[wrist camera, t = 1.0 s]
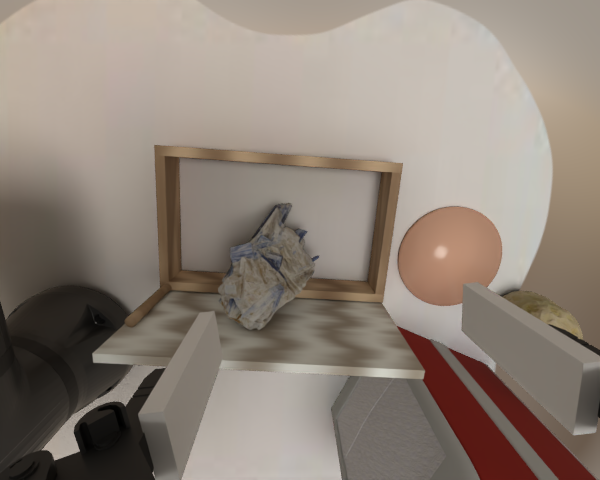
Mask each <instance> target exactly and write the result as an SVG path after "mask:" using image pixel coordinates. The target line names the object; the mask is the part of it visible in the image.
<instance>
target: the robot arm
mask: <svg viewBox="0 0 600 480" xmlns="http://www.w3.org/2000/svg"><path fill="white" fill-rule="evenodd" d="M127 317H128V316H127V315H126V313H125V312H124V311H123V310H122V309H121V308H120V307H119V306H118V305H117V304H116V303H115V302H113V301H112V300H111V299H109V298H108V297H106V296H104V295H103V294H101V293H99V292H96V291H94V290H91V289H87V288H83V287H78V286H60V287H54V288H51V289H48V290H45V291H43V292H41V293H39V294H37V295H35V296H33V297H31V298H29V299H27V300H26V301H24V302H23V303H21V304H20V305H19V306H18V307H17V308H15V309H14V311H13V312H12V313H11V314H10V315H9V317H8V318H7V320H5V317H4V313H3V309H2V306H1V302H0V480H155V479H156V480H181V478H182V476H183V473H184V470H185V467H186V464H187V461H188V458H189V455H190V452H191V449H192V446H193V443H194V440H195V438H196V435H197V432H198V429H199V426H200V423H201V420H202V417H203V414H204V411H205V408H206V405H207V402H208V400H209V397H210V394H211V391H212V388H213V385H214V382H215V379H216V376H217V373H218V370H219V367H220V364H221V361H222V359H223V355H222V349H221V344H220V339H219V333H218V328H217V322H216V317H215V311H210V312H201V313H199V315H198V316H197V318H196V320H195V321H194V323H193V325H192V326H191V328H190V329H189V331H188V333H187V334H186V336H185V338H184V339H183V341H182V343H181V344H180V346H179V348H178V349H177V351H176V353H175V354H174V356H173V357H172V359H171V361H170V362H169V364H168V366H167V367H166V368H162V369H155V370H154V371H153V372H152V373H150V374H149V375H148V376H147V377H146V378H145V379H144V380H143V381H142V383H141V384H140V386H139V387H138V390H136V392H135V393H134V395H133V398H131V399H130V401H129V402H128V404H127V405H126V407H125V405H124V404H123V403H121V402H110V403H105V404H103V405H100V406H98V407H96V408H94V409H92V410H91V411H89V412H88V413H86V414H85V415H84V416H83V417H82V418H81V419H80V420H79V421H78V423H77V424H76V425H75V428H74V435H75V438H76V441H77V443H78V446H79V449H80V452H78V453H75V454H72V455H69V456H66V457H64V458H61V459H58V460H55V461H54V459H53V456H52V453H50V452H49V451H47V450H42V449H43V448H44V446H45V445H46V444H47V443H48V442H49V441H50V439H51V438H52V437H53V436H54V435H55V434H56V433H57V431H58V430H59V429H60V428H61V427H62V426H63V425H64V423H65V422H66V421H67V420H68V419H69V418H70V417H71V416H72V415H73V414H75V413H76V412H78V411H79V410H81V409H83V408H84V407H86V406H87V405H89V404H90V403H92V402H93V401H95V400H96V399H97V398H100V397H102V396H104V395H105V394H107V393H108V392H110V391H111V390H113V389H114V388H115V387H116V386H117V385H118V384H119V383H120V382H121V381H122V379H123V378H124V377H125V376H126V375H127V373H128V372H129V371H130V369H131V368H132V366H133V365H130V364H110V363H93V355H92V353H94V352H95V351H96V350H97V349H98V348H99V347H100V346H101V345H102V344H103V343H104V342H106V341H107V340H108V339H109V338H110V337H111V336H112V335H113V334H114V333H115V332H116V331H118V330H119V329H120V328H121V327H122V326H123V325H124V324H125V319H126V318H127ZM462 331H463V332H464V333H465V334H466V335H467V336H468V337H469V338H470V339H471V340H472V341H473V342H474V343H475V344H477V345H478V346H479V347H480V348H481V349H482V350H483V351H484V352H485V353H486V354H487V355H488V356H489V357H490V358H491V359H493V360H494V361H495V362H496V363H497V364H498V365H499V366H500V367H501V368H502V369H503V370H504V371H506V373H508V374H509V375H510V376H511V377H512V378H513V379H514V380H515V381H516V382H517V383H518V384H519V385H520V386H521V387H523V388H524V389H525V390H526V391H527V392H528V393H529V394H530V395H531V396H532V397H533V398H534V399H535V400H536V401H537V402H539V403H540V404H541V405H542V406H543V407H544V408H545V409H546V410H547V411H548V412H549V413H550V414H551V415H552V416H554V417H555V418H556V419H557V420H558V421H559V422H560V423H561V424H562V425H563V426H564V427H565V428H566V429H567V430H568V431H569V432H570V433H572V434H573V435H579V434H588V433H595V432H596V428H597V422H598V417H599V418H600V350H599V349H597V348H595V347H594V346H592V345H589V344H588V343H587V342H585V341H583V340H582V339H578V337H577V336H575V335H573V334H571V333H570V332H568V331H566V330H564V329H561V328H559V327H556V326H553V325H551V324H546V323H544V322H543V321H541V320H539V319H538V318H536V317H534V316H533V315H531V314H529V313H528V312H526V311H524V310H523V309H521V308H519V307H518V306H516V305H514V304H513V303H511V302H509V301H508V300H506V299H505V298H503V297H501V296H500V295H498V294H496V293H495V292H493V291H491V290H490V289H488V288H486V287H485V286H483V285H481V284H480V283H478V282H475V283H466V284H463V305H462ZM153 471H154V475H155V478H154V476H153V474H152V472H153Z"/></svg>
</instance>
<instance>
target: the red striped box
mask: <svg viewBox="0 0 600 480" xmlns="http://www.w3.org/2000/svg"><path fill="white" fill-rule="evenodd" d="M397 328H398V329H399V331H400V332H401V334H402V335H403V337H404V339H405V340H406V342H407V343H408V345H409V346H410V348H411V350H412V351H413V353H414V354H415V356H416V357H417V359H418V360H419V362H420V364H421V365H422V367H423V368H424V370H425V373H424V379H407V378H387V377H368V376H350V377H349V379H348V380H347V382H346V384H345V385H344V387H343V389H342V391H341V392H340V394H339V396H338V398H337V399H336V401H335V403H334V405H333V406H332V409H331V410H332V416H333V423H334V430H335V436H336V443H337V449H338V456H339V463H340V469H341V476H342V480H598V479H597V478H596V477H595V476H594V475H593V473H592V472H591V471H590V470H589V469H588V468H587V467H586V466H585V465H584V464H583V463H582V462H581V461H580V460H579V459H578V458H577V457H576V456H575V455H574V454H573V453H572V452H571V451H570V450H569V449H568V448H567V447H566V446H565V445H564V444H563V443H562V442H561V441H560V440H559V438H558V437H557V436H555V434H554V433H553V432H552V431H551V430H550V429H549V428H548V427H547V426H546V425H545V424H544V423H543V422H542V421H541V420H540V419H539V418H538V417H537V416H536V415H535V414H534V413H533V412H532V411H531V410H530V409H529V408H528V407H527V406H526V405H525V404H524V402H522V400H521V399H520V398H519V397H517V395H516V394H515V393H514V392H513V391H512V390H511V389H510V388H509V387H508V386H507V385H506V384H505V383H504V382H503V381H502V380H501V379H500V378H499V377H498V376H497V375H496V374H495V373H494V372H493V371H492V370H491V369H490V368H489V367H488V365H485V364H484V363H482V362H479V361H477V360H475V359H472V358H470V357H468V356H465V355H463V354H461V353H459V352H456V351H454V350H452V349H449V348H447V347H446V346H445V345H443V344H441V343H439V342H436V341H434V340H432V339H430V340H428V339H426V338H424V337H421V336H419V335H417V334H414V333H412V332H410V331H407V330H405V329H403V328H400V327H398V326H397Z"/></svg>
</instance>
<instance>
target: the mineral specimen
mask: <svg viewBox="0 0 600 480" xmlns="http://www.w3.org/2000/svg"><path fill="white" fill-rule="evenodd" d="M291 207H292V205H291V204H289V203H288V204H281V205H280V204H278V205H277V206H275V207H274V208H273V209H272V211H271V212H270V213H269V215H268V216H267V217H266V219H265V220H264V222H263V223H262V225H261V226H260V227H259V229H258V230H257V232H256V233H255V235H254V236H253V237H252V239H251V240H250V241H249V243H246V244H242V245H238V246H234V247H230V257H231V261H232V265H231V268H230V269H229V271H228V272H227V274H226V275H225V276H224V278H223V279H222V282H223V284H221V285H220V287H219V288H218V292H219V294H220V295H221V298H220V300H219V303H220V304H221V305H222V306H223V307H224V312H225V315H226V316H227V317H228V318H229V319H234V320H235V321H236V322H237V323H239V324H241V325H243V326H244V327H245V328H247V329H249V330H251V329H254V328H257V329H258V330H260V329H261V328H263V327H265V325H266V324H267V323H268V322H269V321H270V320H271V318H272V316H273V315H274V313H275V312H276V311H277V310H278V309H279V308H280V307H282V306H284V304H286V303H287V302H289V301H291V300H292V299H294V298H295V296H296V295H297V294H300V292H301V290H302V289H303V288H304V287H305V286H306V282H307V280H309V279H310V278H311V276H312V275H313V273H314V268H313V267H314V266H315V263H314V261H315V260H316V259H318V258H319V256H315V257H313V258H312V259H311V257H310V256H309V255H308V254H307V253H306V252H305V251H304V249H303V245H304V243H305V240H304V239H303V237H304V236H305V234H306V233H307V231H305V230H301V229H297V230H296V231H295V232H294V231H293V230H292V229H290V228H289V227H286V228H285V227H284V222H285V220H286V218H287V216H288V213H289V211H290V209H291Z"/></svg>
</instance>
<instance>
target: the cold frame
mask: <svg viewBox="0 0 600 480" xmlns="http://www.w3.org/2000/svg"><path fill="white" fill-rule="evenodd" d="M154 148H155V172H156V197H157V221H158V246H159V270H160V289H158V290H157V291H156V292H155V293H154V294H153V295H152V296H151V297H149V298H148V299H147V300H146V301H145V302H144V303H143V304H142V305H140V306H139V307H138V308H137V309H136V310H135V311H134V312H133V313H132V314H130V315H129V316H128V317H127V318H126V319H125V324H124V325H123V326H122V327H121V328H120V329H119V330H118V331H116V332H115V333H114V334H113V335H112V336H111V337H110V338H109V339H108V340H107V341H106V342H104V343H103V344H102V345H101V346H100V347H99V348H98V349H97V350H96V351H95V352H94V353H92V355H93V363H110V364H130V365H150V366H168V364H169V362H170V361H171V359H172V357H173V356H174V354H175V353H176V351H177V349H178V348H179V346H180V344H181V343H182V341H183V339H184V338H185V336H186V334H187V333H188V331H189V329H190V328H191V326H192V325H193V323H194V321H195V320H196V318H197V316H198V315H199V313H201V312H210V311H215V317H216V322H217V328H218V333H219V339H220V344H221V349H222V355H223V359H222V361H221V364H220V367H219V369H229V370H249V371H268V372H288V373H308V374H328V375H348V376H368V377H387V378H407V379H424V373H425V370H424V368H423V367H422V365H421V364H420V362H419V360H418V359H417V357H416V356H415V354H414V353H413V351H412V350H411V348H410V346H409V345H408V343H407V342H406V340H405V339H404V337H403V335H402V334H401V332H400V331H399V329H398V328H397V326H396V324H395V323H394V321H393V320H392V318H391V317H390V315H389V314H388V312H387V310H386V309H385V307H384V306H383V304H382V303H383V297H384V290H385V283H386V276H387V270H388V263H389V256H390V249H391V242H392V235H393V228H394V222H395V215H396V208H397V201H398V194H399V187H400V180H401V174H402V167H403V163H391V162H377V161H364V160H350V159H336V158H323V157H309V156H296V155H282V154H269V153H255V152H242V151H228V150H214V149H201V148H187V147H174V146H160V145H154ZM179 157H184V158H198V159H212V160H226V161H239V162H253V163H267V164H281V165H294V166H308V167H322V168H336V169H350V170H363V171H377V172H382V174H381V182H380V189H379V197H378V205H377V212H376V220H375V228H374V235H373V243H372V251H371V258H370V266H369V274H368V281H367V282H365V281H348V280H332V279H315V278H310V279H309V280H307V282H306V286H305V287H304V288H303V289H302V290H301V292H300V294H297V295H296V296H295V298H294V299H292V300H291V301H289V302H287V303H286V304H284V306H282V307H280V308H279V309H278V310H277V311H276V312H275V313H274V315H273V316H272V318H271V320H270V321H269V322H268V323H267V324H266V325H265V327H263V328H261V329H260V330H258V329H257V328H254V329H251V330H249V329H247V328H245V327H244V326H243V325H241V324H239V323H237V322H236V321H235V320H234V319H229V318H228V317H227V316H226V315H225V312H224V307H223V306H222V305H221V304H220V303H219V300H220V298H221V295H220V294H219V292H218V288H219V287H220V285H221V284H223V282H222V279H223V278H224V276H225V275H226V274H227V273H217V272H200V271H184V270H182V269H181V225H180V181H179ZM381 302H382V303H381Z"/></svg>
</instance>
